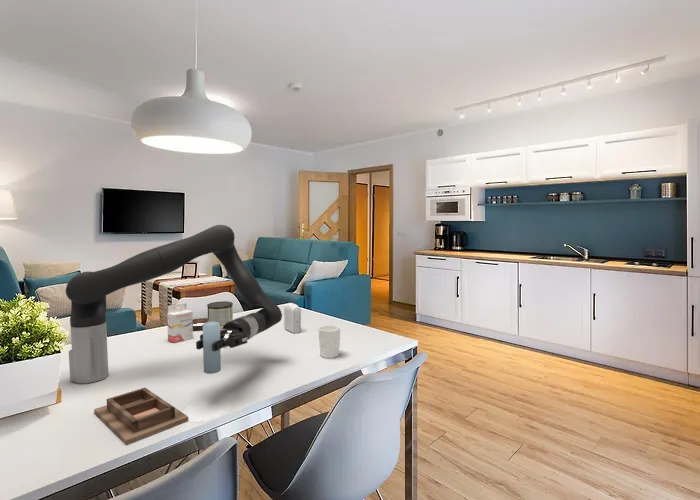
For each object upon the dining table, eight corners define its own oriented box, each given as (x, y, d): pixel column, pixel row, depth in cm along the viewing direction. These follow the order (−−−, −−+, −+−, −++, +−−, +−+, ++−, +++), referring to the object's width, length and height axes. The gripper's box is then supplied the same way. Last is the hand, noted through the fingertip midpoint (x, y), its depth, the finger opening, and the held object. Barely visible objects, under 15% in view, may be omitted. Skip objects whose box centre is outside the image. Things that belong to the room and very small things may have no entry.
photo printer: (302, 332, 173) (302, 304, 172) (293, 334, 171) (293, 306, 170) (291, 327, 181) (291, 300, 180) (283, 329, 179) (282, 302, 178)
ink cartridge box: (173, 343, 158) (172, 307, 157) (167, 341, 161) (166, 305, 160) (193, 338, 165) (192, 303, 164) (187, 336, 168) (186, 302, 167)
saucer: (175, 329, 179) (175, 323, 179) (200, 322, 193) (200, 316, 193) (200, 333, 173) (200, 327, 173) (223, 325, 187) (223, 319, 187)
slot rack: (94, 413, 101) (93, 399, 101) (151, 394, 111) (150, 382, 111) (126, 444, 86) (125, 429, 86) (188, 420, 97) (188, 406, 97)
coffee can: (203, 336, 168) (202, 303, 167) (226, 331, 175) (225, 300, 174) (215, 341, 160) (214, 307, 159) (238, 336, 168) (237, 303, 167)
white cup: (344, 355, 144) (344, 328, 143) (329, 360, 138) (329, 332, 137) (329, 350, 149) (329, 324, 148) (314, 355, 143) (314, 328, 143)
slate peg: (201, 373, 106) (200, 325, 105) (207, 367, 110) (206, 321, 109) (217, 373, 105) (216, 326, 105) (223, 367, 110) (222, 321, 109)
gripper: (220, 316, 123) (182, 330, 106) (261, 319, 119) (228, 335, 102) (220, 339, 123) (183, 357, 107) (261, 344, 119) (229, 363, 103)
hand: (205, 346), depth 105 cm, fingers closed on slate peg, 4 cm apart
